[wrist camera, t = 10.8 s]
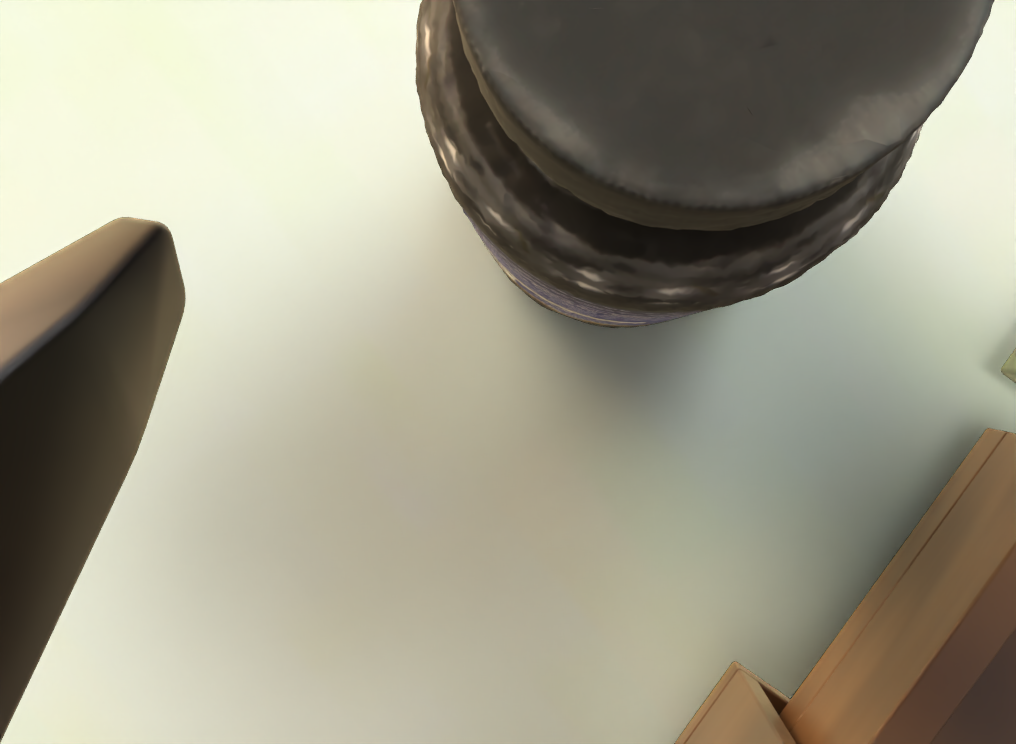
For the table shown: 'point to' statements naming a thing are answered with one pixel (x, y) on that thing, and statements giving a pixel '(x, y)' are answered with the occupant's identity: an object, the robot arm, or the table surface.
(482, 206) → the pill bottle
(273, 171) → the table surface
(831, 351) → the table surface
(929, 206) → the table surface
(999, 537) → the drawer
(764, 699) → the box
